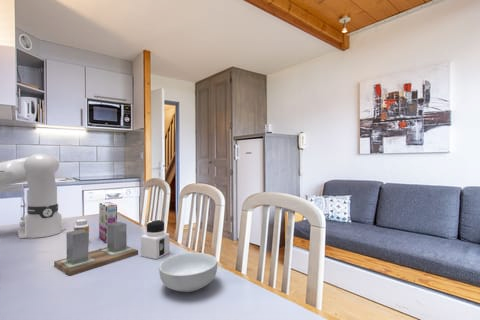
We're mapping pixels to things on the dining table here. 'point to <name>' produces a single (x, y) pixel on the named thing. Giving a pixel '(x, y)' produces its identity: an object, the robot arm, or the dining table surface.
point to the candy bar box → (106, 218)
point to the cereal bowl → (188, 271)
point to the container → (155, 240)
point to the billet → (116, 237)
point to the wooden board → (94, 260)
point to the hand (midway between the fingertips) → (8, 173)
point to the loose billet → (77, 246)
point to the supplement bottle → (82, 226)
